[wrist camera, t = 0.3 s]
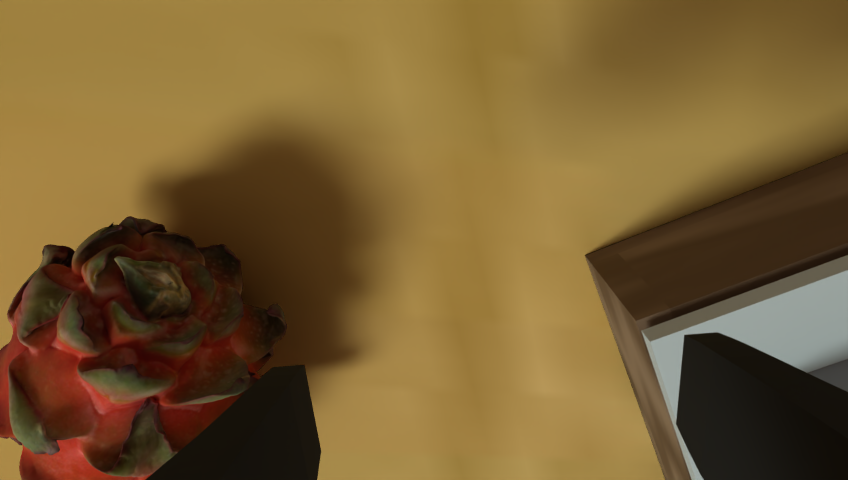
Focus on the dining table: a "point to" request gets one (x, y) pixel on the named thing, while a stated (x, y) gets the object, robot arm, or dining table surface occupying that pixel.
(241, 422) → the robot arm
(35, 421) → the dragon fruit
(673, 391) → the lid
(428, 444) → the dining table surface
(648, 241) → the walnut box
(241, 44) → the dining table surface
